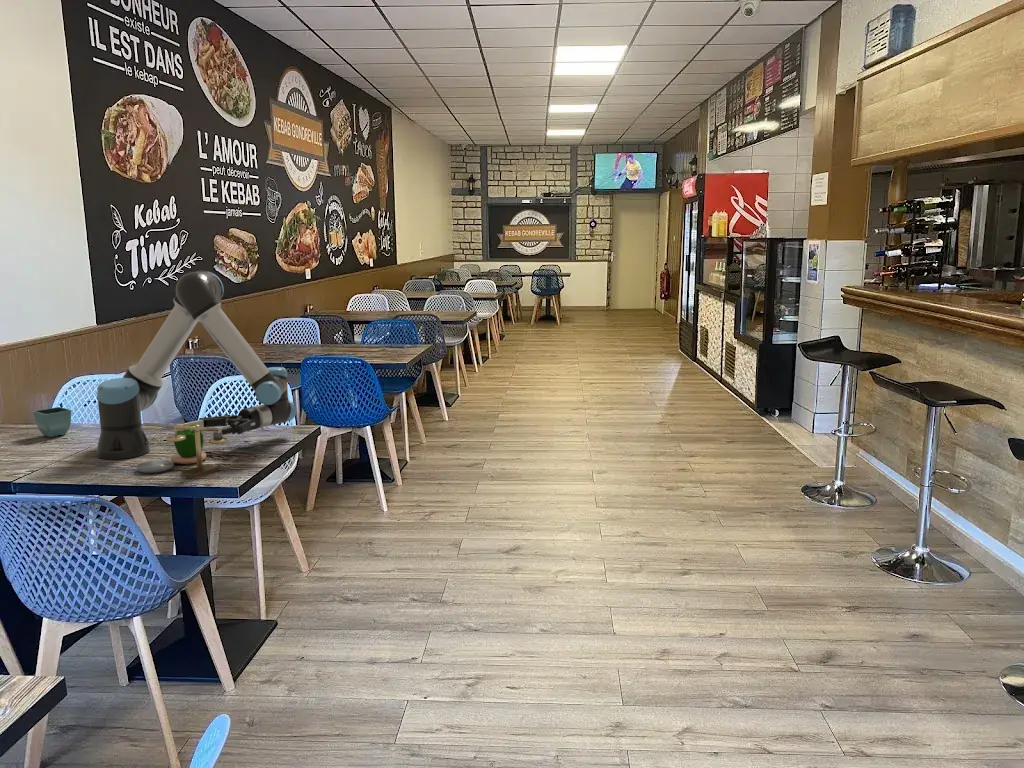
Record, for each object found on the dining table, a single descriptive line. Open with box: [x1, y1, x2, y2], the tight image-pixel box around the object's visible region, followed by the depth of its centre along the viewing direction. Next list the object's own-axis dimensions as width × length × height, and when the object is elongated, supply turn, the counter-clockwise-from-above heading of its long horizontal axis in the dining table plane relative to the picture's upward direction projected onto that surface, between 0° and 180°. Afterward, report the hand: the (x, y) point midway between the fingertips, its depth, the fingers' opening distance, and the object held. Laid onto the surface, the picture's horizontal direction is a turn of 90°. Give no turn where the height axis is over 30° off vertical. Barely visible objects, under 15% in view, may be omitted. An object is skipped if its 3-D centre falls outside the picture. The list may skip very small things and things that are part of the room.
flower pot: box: [33, 406, 72, 438], centre depth 259 cm, size 9×9×9 cm
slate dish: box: [136, 459, 175, 474], centre depth 221 cm, size 10×10×2 cm
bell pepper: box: [173, 424, 204, 458], centre depth 229 cm, size 8×8×10 cm
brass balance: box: [166, 424, 228, 479], centre depth 217 cm, size 5×18×16 cm, turn 148°
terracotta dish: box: [170, 451, 207, 465], centre depth 230 cm, size 10×10×2 cm
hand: (197, 430), depth 231 cm, fingers open, 13 cm apart
